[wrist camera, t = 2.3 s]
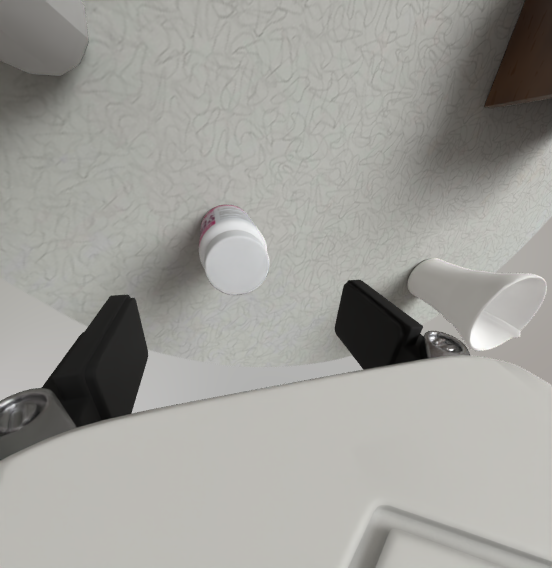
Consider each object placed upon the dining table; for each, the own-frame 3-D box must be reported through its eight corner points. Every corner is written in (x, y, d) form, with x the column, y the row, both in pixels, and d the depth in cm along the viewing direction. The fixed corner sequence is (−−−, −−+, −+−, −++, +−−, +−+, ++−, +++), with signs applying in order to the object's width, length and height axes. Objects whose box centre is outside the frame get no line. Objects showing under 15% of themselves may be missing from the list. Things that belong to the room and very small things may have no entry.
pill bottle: (200, 200, 20) (198, 224, 12) (255, 207, 21) (282, 232, 14) (199, 253, 22) (197, 300, 14) (250, 256, 23) (270, 300, 16)
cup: (413, 314, 34) (482, 366, 25) (386, 279, 29) (460, 328, 21) (463, 271, 33) (555, 311, 24) (443, 227, 28) (548, 257, 19)
